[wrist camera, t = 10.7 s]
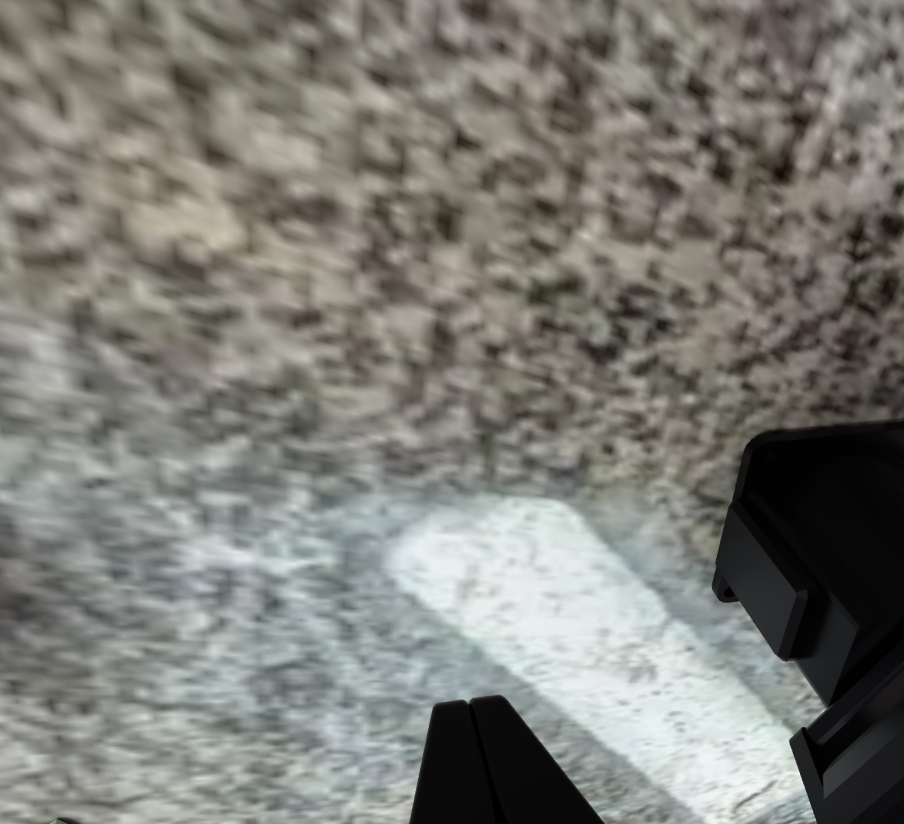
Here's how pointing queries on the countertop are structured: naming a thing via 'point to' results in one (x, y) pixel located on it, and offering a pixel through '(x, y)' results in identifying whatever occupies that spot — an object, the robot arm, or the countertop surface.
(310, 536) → the countertop surface
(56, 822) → the mat
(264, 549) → the countertop surface
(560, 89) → the countertop surface
